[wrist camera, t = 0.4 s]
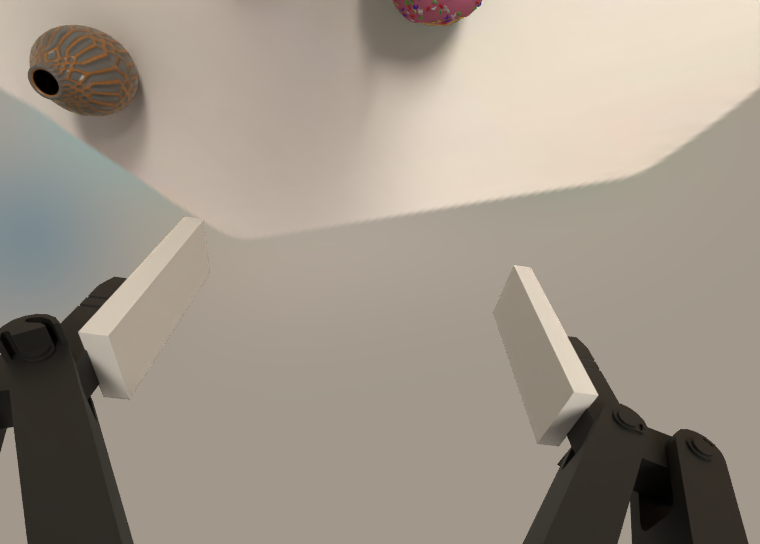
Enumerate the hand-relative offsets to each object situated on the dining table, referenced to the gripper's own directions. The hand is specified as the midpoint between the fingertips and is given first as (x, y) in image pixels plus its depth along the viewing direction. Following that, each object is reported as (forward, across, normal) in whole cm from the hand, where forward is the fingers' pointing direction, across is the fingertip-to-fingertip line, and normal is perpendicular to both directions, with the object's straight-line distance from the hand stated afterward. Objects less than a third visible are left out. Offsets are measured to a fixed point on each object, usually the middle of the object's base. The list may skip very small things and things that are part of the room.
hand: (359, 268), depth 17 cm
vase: (+27, -25, 0) cm, 37 cm away
